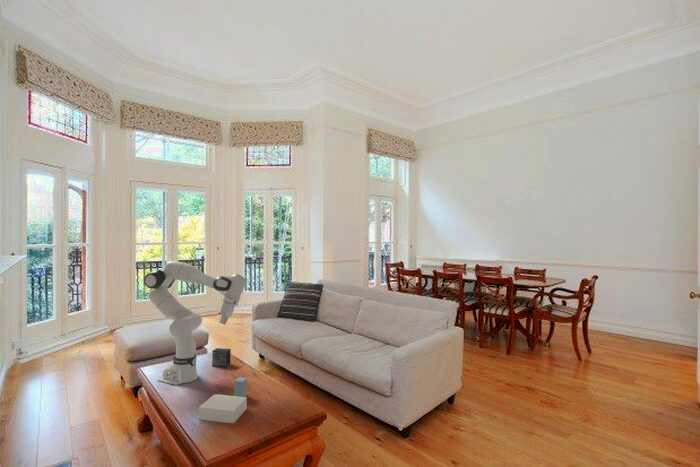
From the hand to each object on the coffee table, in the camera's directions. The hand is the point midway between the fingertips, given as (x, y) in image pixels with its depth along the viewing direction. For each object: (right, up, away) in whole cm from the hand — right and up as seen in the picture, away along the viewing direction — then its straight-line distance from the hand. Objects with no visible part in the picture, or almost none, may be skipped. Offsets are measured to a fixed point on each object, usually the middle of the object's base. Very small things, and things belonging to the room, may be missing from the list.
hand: (222, 323), depth 208 cm
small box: (-12, -37, +32) cm, 50 cm away
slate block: (+15, -37, -14) cm, 42 cm away
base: (+12, -37, -32) cm, 50 cm away
